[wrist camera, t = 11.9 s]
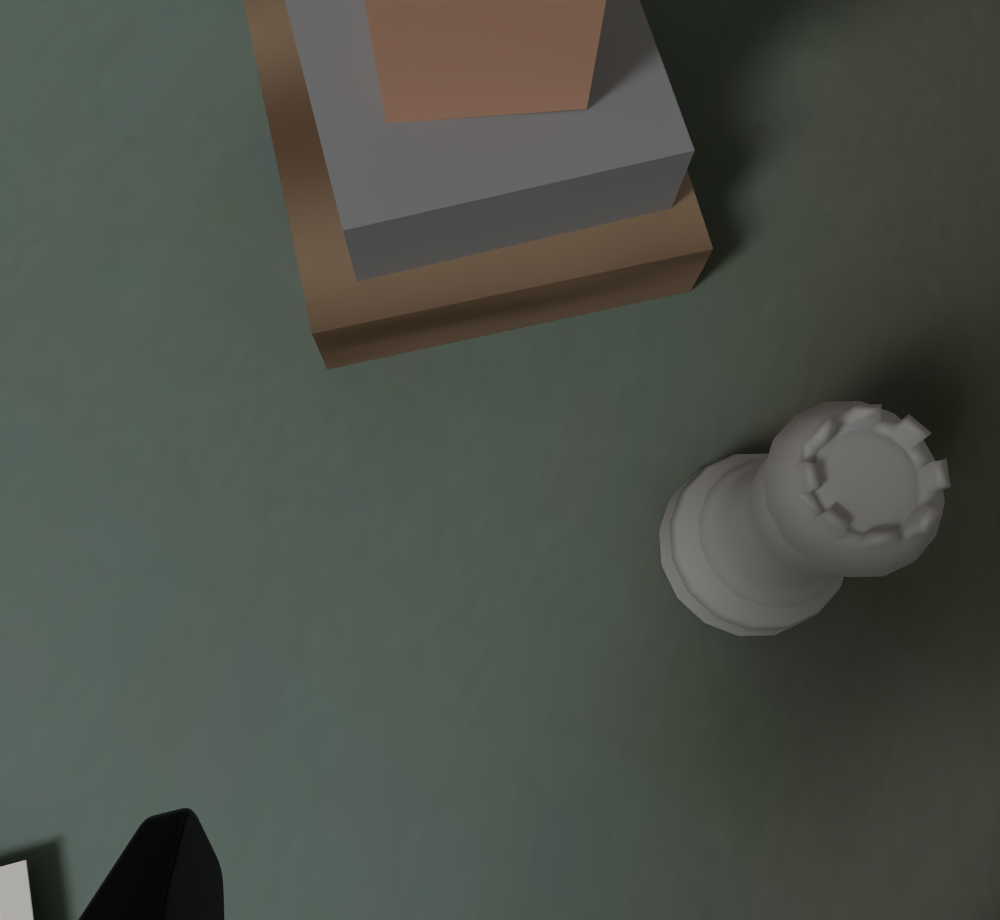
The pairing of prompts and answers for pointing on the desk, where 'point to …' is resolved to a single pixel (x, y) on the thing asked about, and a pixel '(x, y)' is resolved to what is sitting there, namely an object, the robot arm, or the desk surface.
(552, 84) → the pillar
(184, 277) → the desk surface
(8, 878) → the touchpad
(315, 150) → the tower base
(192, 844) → the robot arm
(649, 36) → the tower top
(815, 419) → the rook chess piece
